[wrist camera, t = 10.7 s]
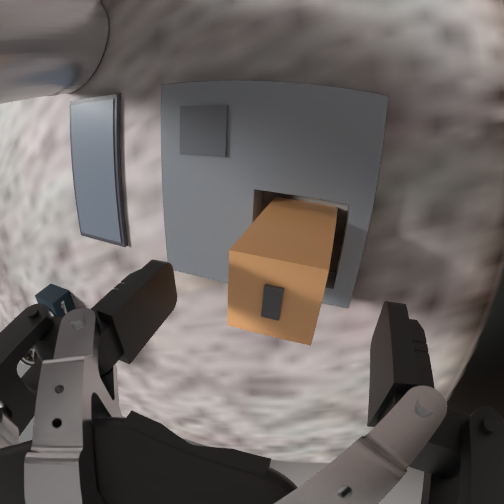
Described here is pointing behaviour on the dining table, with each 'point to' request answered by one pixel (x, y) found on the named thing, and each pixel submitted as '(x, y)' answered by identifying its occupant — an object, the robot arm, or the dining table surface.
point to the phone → (98, 167)
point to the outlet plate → (265, 165)
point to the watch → (51, 311)
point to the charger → (282, 270)
